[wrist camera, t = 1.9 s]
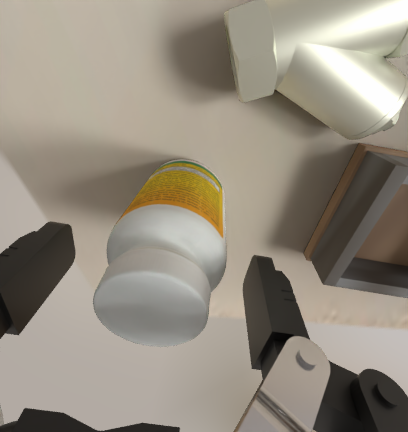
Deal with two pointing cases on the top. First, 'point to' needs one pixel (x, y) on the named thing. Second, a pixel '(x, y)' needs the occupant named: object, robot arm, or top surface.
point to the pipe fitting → (323, 58)
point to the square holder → (366, 225)
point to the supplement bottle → (165, 257)
